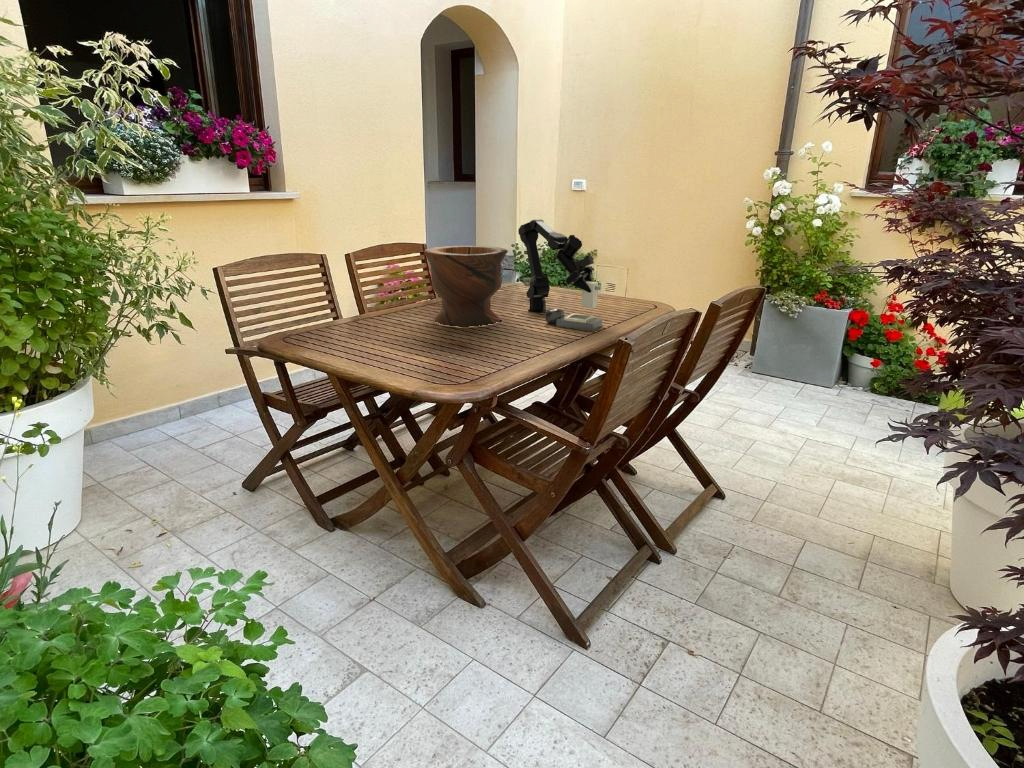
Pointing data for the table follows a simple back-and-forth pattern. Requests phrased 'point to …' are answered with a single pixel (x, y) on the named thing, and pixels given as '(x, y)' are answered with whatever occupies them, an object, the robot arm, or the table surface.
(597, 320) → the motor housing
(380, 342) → the table surface
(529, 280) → the mechanical component
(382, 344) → the table surface
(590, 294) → the cream block
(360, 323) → the table surface
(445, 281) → the wooden planter
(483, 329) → the table surface
